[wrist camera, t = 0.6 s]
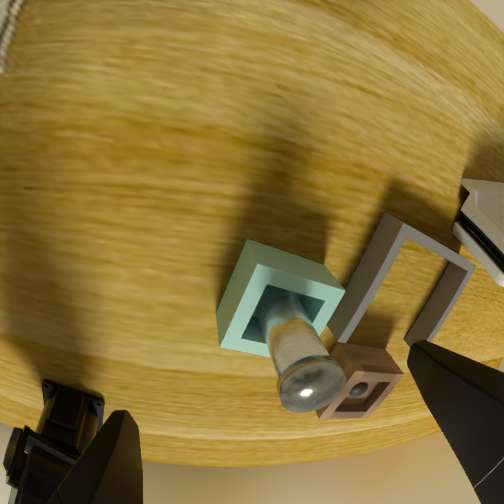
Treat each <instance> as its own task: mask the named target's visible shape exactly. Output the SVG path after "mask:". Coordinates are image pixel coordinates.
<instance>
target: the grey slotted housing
mask: <svg viewBox="0 0 504 504" xmlns="http://www.w3.org/2000/svg"><path fill="white" fill-rule="evenodd" d="M461 185H463V186H464V187H465V188H466V189H467V190H468V191H469V192H470V194H469V196H468V198H467V200H466V201H465V203H464V205H463V207H462V208H461V211H462V212H463V213H464V214H463V217H464V218H465V219H466V220H461V221H460V222H455V224H454V227H453V234H454V235H455V236H456V237H457V238H458V239H459V240H460V242H461V243H462V244H463V245H464V246H465V247H466V248H467V249H468V250H469V251H470V252H471V254H472V255H473V256H474V257H475V258H476V259H477V260H478V261H479V263H480V264H481V265H482V266H483V267H484V268H485V270H486V271H487V272H488V273H489V274H490V276H491V277H492V278H493V279H494V280H495V282H496V283H498V284H499V285H501V286H503V287H504V183H501V182H493V181H485V180H475V179H465V178H462V180H461Z"/></svg>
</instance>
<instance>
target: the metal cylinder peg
mask: <svg viewBox="0 0 504 504" xmlns="http://www.w3.org/2000/svg"><path fill="white" fill-rule="evenodd" d="M255 309H256V312H257V315H258V319H259V322H260V325H261V328H262V331H263V334H264V337H265V340H266V343H267V347H268V350H269V353H270V356H271V359H272V362H273V365H274V368H275V371H276V374H277V377H278V381H277V391H278V394H279V397H280V400H281V403H282V405H283V406H284V407H285V408H286V409H288V410H290V411H293V412H299V413H303V412H311V411H315V410H318V409H320V408H323V407H325V406H327V405H328V404H330V403H331V402H333V401H334V400H335V399H336V398H337V397H339V395H340V394H341V393H342V392H343V390H344V388H345V386H346V375H345V373H344V372H343V370H342V368H341V366H340V364H339V363H338V361H337V360H336V359H334V358H333V357H330V355H329V353H328V352H327V350H326V348H325V346H324V344H323V343H322V341H321V339H320V337H319V335H318V334H317V332H316V330H315V328H314V326H313V325H312V323H311V321H310V319H309V317H308V316H307V314H306V312H305V310H304V308H303V307H302V305H301V303H300V301H299V300H298V298H297V296H296V294H295V292H293V291H289V290H286V289H282V288H279V287H275V286H272V285H268V284H267V285H266V287H265V289H264V291H263V293H262V295H261V297H260V300H259V302H258V304H257V306H256V308H255Z"/></svg>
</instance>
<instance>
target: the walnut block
mask: <svg viewBox="0 0 504 504" xmlns="http://www.w3.org/2000/svg"><path fill="white" fill-rule="evenodd" d="M330 357H333V358H334V359H336V360H337V361H338V363H339V364H340V366H341V368H342V370H343V372H344V373H345V375H346V386H345V388H344V390H343V392H342V393H341V394H340V395H339V397H337V398H336V399H335V400H334V401H333V402H331V403H330V404H328V405H327V406H325V407H323V408H320V409H318V410H316V413H317V415H318V418H326V419H344V418H369V416H370V415H371V414H372V413H373V412H374V411H375V410H376V408H377V407H378V406H379V405H380V404H381V403H382V401H383V400H384V399H385V398H386V397H387V395H388V394H389V393H390V392H391V391H392V389H393V388H394V387H395V386H396V384H397V383H398V382H399V381H400V379H401V378H402V377H403V375H404V373H403V372H402V371H401V369H400V368H399V367H398V365H397V364H396V363H395V361H394V360H393V359H392V357H391V356H390V355H389V353H388V352H387V351H386V349H381V348H375V347H368V346H362V345H356V344H350V343H342V342H337V344H336V345H335V347H334V349H333V350H332V352H331V353H330Z"/></svg>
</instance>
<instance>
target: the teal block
mask: <svg viewBox="0 0 504 504" xmlns="http://www.w3.org/2000/svg"><path fill="white" fill-rule="evenodd" d="M267 284H268V285H272V286H275V287H279V288H282V289H286V290H289V291H293V292H295V294H296V296H297V298H298V300H299V301H300V303H301V305H302V307H303V308H304V310H305V312H306V314H307V316H308V317H309V319H310V321H311V323H312V325H313V326H314V328H315V330H316V332H317V334H318V335H319V336H320V334H321V332H322V331H323V329H324V327H325V326H326V324H327V322H328V321H329V319H330V317H331V316H332V314H333V312H334V311H335V309H336V307H337V305H338V304H339V302H340V300H341V298H342V297H343V295H344V293H345V289H344V288H343V287H342V286H341V284H340V283H339V282H338V281H337V280H336V278H335V277H334V276H333V275H332V274H331V273H330V271H329V270H328V269H327V268H326V267H325V265H323V264H320V263H317V262H314V261H311V260H309V259H306V258H303V257H300V256H297V255H294V254H291V253H288V252H285V251H282V250H279V249H276V248H273V247H270V246H267V245H264V244H261V243H258V242H255V241H253V240H250V239H247V240H246V242H245V245H244V247H243V250H242V252H241V254H240V257H239V259H238V261H237V264H236V266H235V269H234V271H233V273H232V276H231V278H230V280H229V283H228V285H227V288H226V290H225V292H224V295H223V297H222V300H221V302H220V304H219V307H218V309H217V312H216V319H217V327H218V336H219V344H220V347H223V348H228V349H232V350H237V351H242V352H247V353H252V354H257V355H262V356H267V357H271V356H270V353H269V350H268V347H267V343H266V340H265V337H264V334H263V331H262V328H261V325H260V322H259V319H258V315H257V312H256V309H255V308H256V306H257V304H258V302H259V300H260V297H261V295H262V293H263V291H264V289H265V287H266V285H267Z"/></svg>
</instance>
